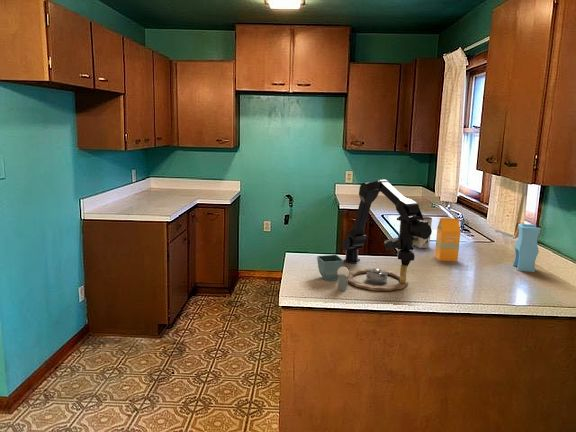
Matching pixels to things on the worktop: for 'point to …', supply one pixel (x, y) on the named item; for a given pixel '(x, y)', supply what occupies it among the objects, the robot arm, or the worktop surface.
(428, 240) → the coffee box
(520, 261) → the vase
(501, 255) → the worktop surface
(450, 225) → the orange juice
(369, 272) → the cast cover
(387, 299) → the worktop surface
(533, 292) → the worktop surface
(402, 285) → the brown ring with post
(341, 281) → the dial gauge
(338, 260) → the flower pot
